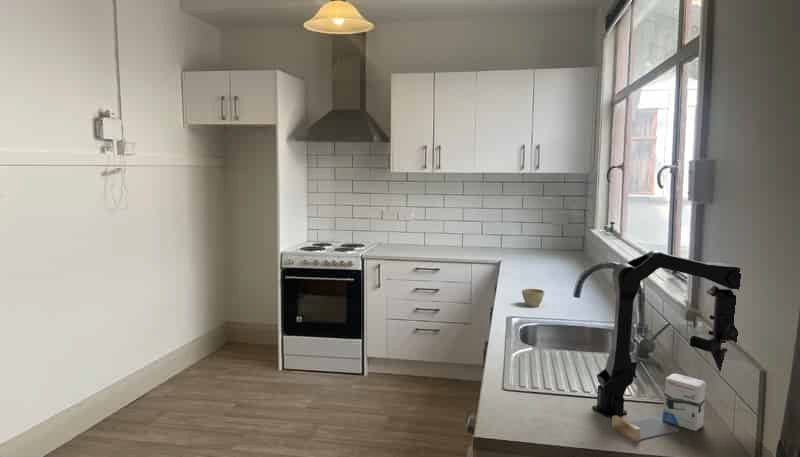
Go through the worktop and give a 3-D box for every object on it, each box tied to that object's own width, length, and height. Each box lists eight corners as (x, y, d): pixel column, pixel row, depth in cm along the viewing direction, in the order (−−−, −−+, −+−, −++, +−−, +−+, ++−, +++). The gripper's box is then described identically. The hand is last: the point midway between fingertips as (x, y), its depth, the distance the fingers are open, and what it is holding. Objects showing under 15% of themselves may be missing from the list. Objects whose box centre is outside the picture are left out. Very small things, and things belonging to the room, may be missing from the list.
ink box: (661, 421, 154) (664, 377, 152) (669, 415, 157) (671, 372, 156) (696, 432, 148) (699, 386, 146) (703, 425, 151) (706, 381, 150)
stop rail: (611, 427, 150) (612, 416, 149) (615, 426, 150) (616, 415, 150) (636, 441, 142) (636, 429, 142) (639, 440, 143) (640, 428, 142)
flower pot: (530, 302, 284) (531, 287, 283) (548, 306, 276) (548, 291, 275) (517, 305, 277) (517, 290, 277) (534, 309, 270) (535, 294, 269)
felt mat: (615, 426, 150) (615, 425, 150) (653, 418, 155) (654, 417, 155) (639, 440, 143) (640, 439, 143) (679, 431, 148) (679, 430, 148)
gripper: (729, 324, 142) (724, 387, 144) (781, 317, 149) (776, 377, 151) (690, 313, 152) (686, 372, 154) (740, 307, 160) (736, 363, 161)
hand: (722, 371), depth 155 cm, fingers closed
